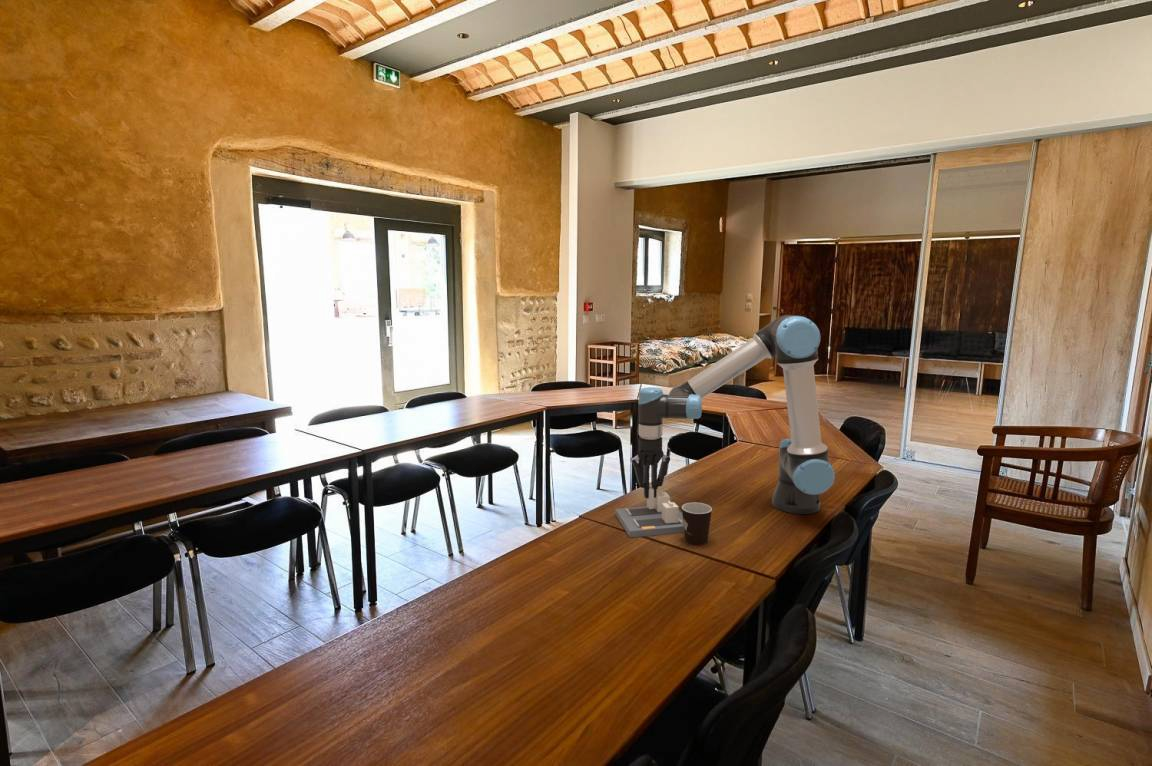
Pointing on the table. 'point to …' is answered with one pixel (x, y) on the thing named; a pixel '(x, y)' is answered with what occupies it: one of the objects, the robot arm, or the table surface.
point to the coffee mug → (696, 522)
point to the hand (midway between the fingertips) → (650, 507)
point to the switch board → (647, 522)
